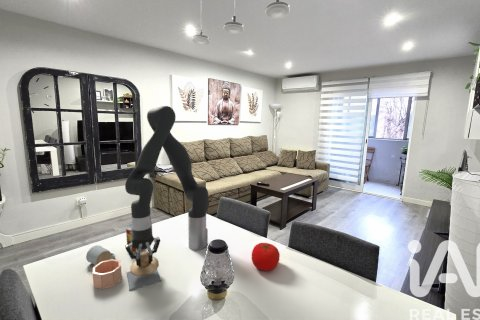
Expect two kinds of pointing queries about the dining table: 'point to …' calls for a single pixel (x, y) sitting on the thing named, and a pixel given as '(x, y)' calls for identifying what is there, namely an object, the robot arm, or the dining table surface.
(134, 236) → the robot arm
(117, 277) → the bowl
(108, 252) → the ceramic mug
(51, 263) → the dining table surface
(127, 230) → the canned food
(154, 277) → the mat
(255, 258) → the tomato
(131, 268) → the lid
